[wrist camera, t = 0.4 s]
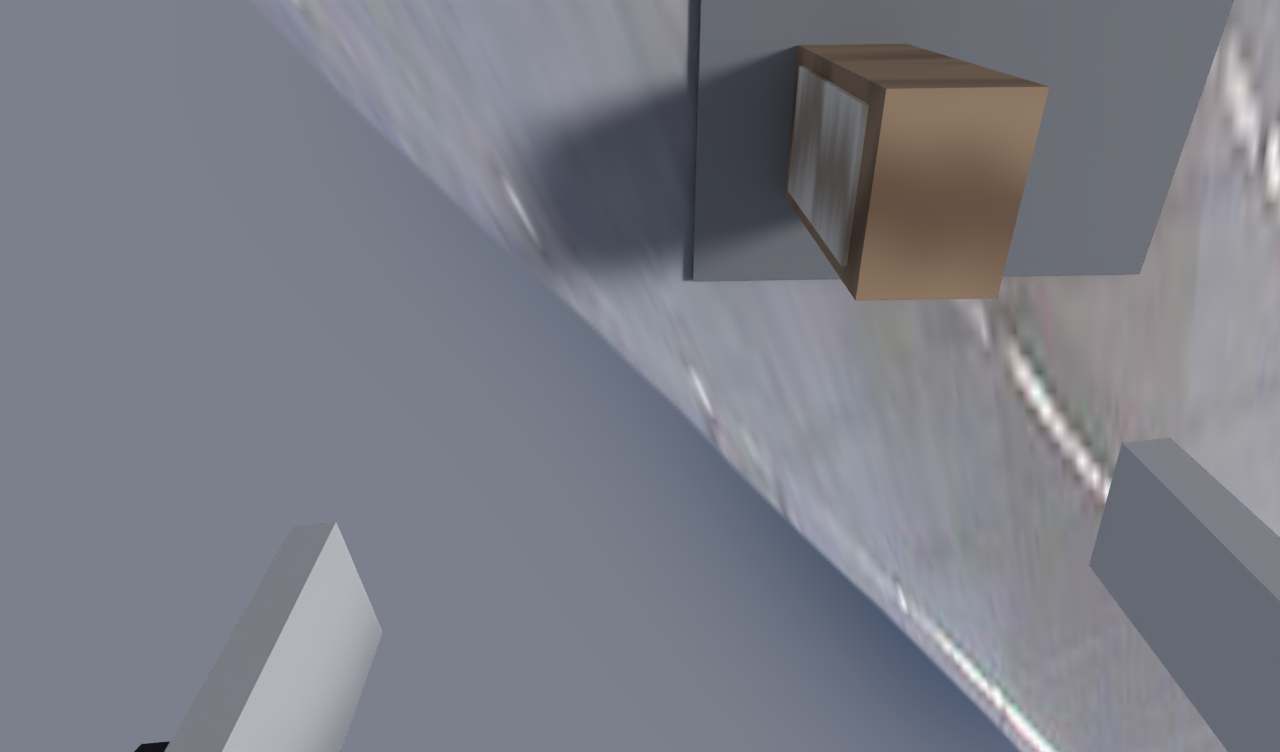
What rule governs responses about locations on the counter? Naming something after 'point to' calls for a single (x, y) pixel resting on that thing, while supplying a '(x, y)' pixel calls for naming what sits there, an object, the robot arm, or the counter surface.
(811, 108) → the label block
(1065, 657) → the counter surface
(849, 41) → the mat
